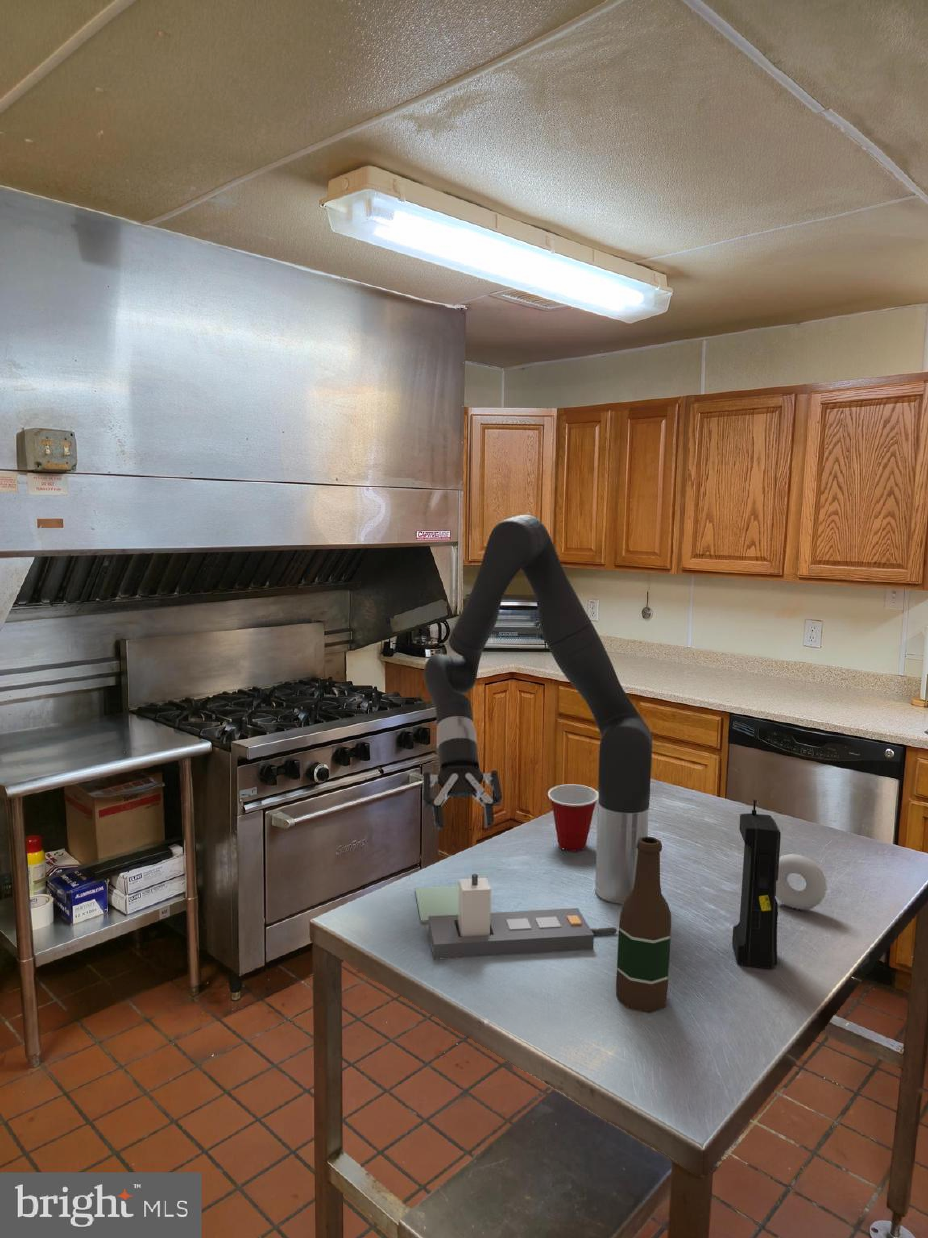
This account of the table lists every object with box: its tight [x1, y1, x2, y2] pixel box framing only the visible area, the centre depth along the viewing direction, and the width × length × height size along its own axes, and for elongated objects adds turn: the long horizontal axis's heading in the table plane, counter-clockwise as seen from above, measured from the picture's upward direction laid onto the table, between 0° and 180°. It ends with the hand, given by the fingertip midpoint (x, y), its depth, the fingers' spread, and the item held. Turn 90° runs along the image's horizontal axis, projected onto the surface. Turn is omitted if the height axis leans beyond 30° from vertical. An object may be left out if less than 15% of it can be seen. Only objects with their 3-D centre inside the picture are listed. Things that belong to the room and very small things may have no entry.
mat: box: [414, 885, 459, 924], centre depth 142 cm, size 12×12×1 cm
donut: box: [775, 853, 828, 911], centre depth 143 cm, size 10×3×10 cm, turn 54°
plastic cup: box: [547, 783, 599, 852], centre depth 168 cm, size 11×11×12 cm
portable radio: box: [731, 799, 782, 970], centre depth 125 cm, size 8×6×25 cm
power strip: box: [427, 907, 618, 960], centre depth 131 cm, size 32×9×3 cm, turn 98°
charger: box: [458, 873, 492, 937], centre depth 129 cm, size 5×4×12 cm
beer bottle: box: [615, 836, 672, 1013], centre depth 114 cm, size 8×8×24 cm
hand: (464, 827), depth 139 cm, fingers open, 8 cm apart
